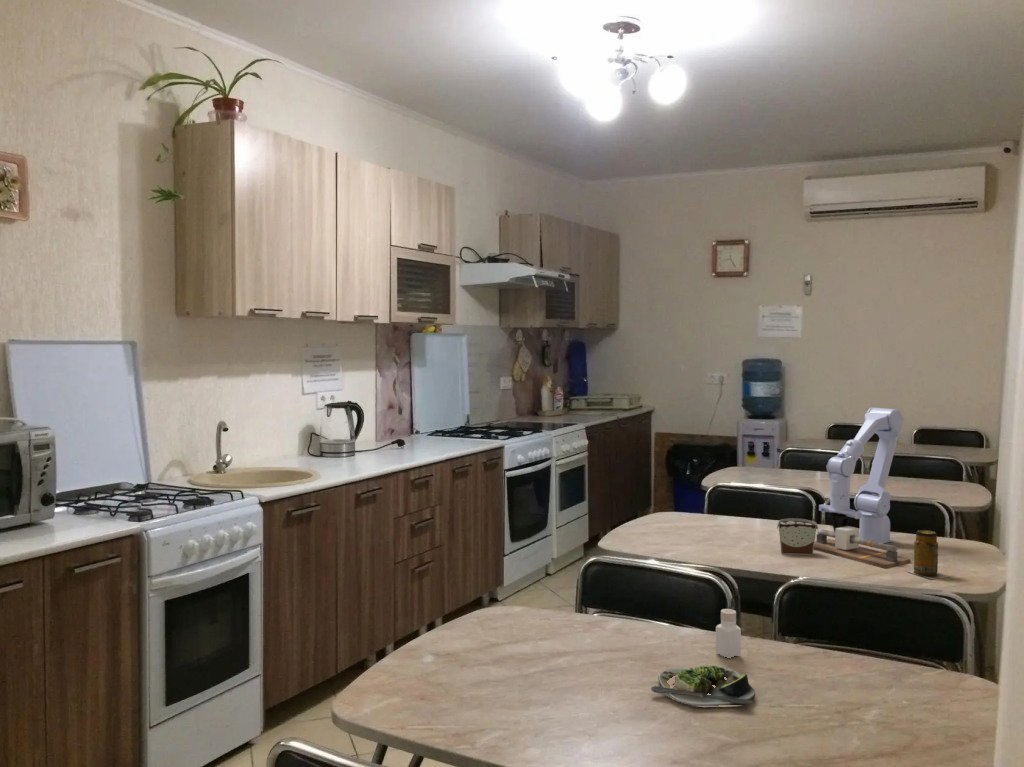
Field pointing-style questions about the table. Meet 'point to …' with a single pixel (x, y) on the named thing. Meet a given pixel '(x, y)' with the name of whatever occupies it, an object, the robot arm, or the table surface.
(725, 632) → the salt shaker
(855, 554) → the wooden slider rail
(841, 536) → the collar
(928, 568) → the condiment
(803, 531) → the food container
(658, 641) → the table surface
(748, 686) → the salad plate
